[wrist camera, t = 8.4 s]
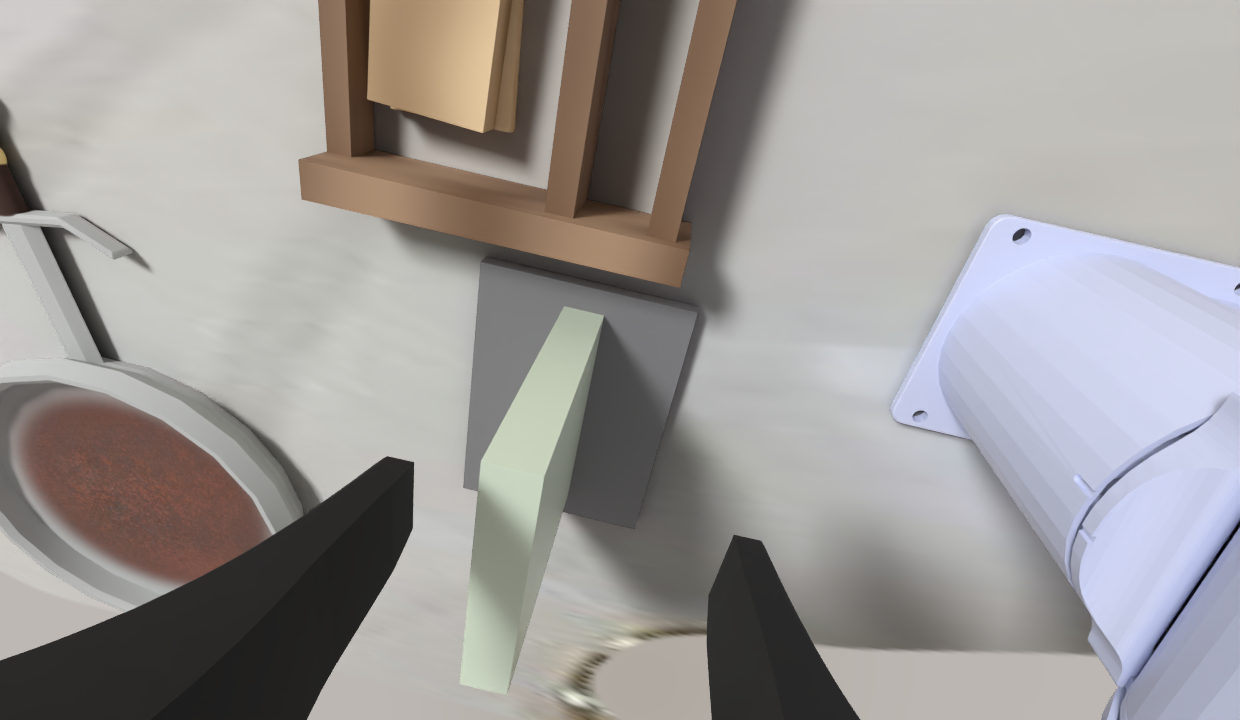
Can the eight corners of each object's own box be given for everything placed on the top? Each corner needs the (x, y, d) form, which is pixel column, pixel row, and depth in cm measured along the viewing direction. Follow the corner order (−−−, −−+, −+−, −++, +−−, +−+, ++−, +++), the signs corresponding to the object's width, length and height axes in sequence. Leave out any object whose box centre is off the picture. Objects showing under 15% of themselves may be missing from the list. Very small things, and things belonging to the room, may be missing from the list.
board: (604, 315, 21) (544, 476, 13) (567, 495, 25) (506, 695, 18) (564, 306, 21) (480, 461, 13) (534, 487, 25) (459, 684, 18)
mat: (698, 306, 21) (697, 312, 20) (636, 519, 26) (634, 528, 26) (486, 256, 21) (480, 261, 21) (468, 478, 26) (463, 487, 26)
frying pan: (130, 77, 18) (323, 658, 31) (202, 75, 20) (352, 612, 33) (-327, 59, 19) (40, 617, 32) (-206, 60, 22) (89, 576, 35)
